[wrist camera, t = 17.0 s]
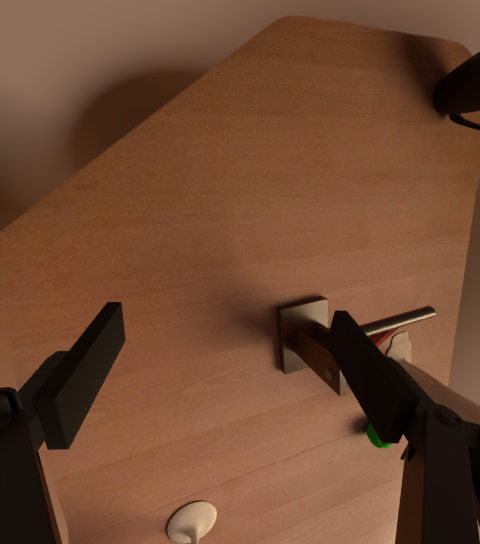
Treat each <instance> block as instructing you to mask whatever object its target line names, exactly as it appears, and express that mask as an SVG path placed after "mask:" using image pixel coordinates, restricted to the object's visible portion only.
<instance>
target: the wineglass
mask: <svg viewBox="0 0 480 544" xmlns="http://www.w3.org/2000/svg"><path fill="white" fill-rule="evenodd" d="M216 515H217V513H216V509H215V507H214V506H213V505H212V504H210V503H208V502H204V501H200V502H194V503H191V504H188V505H186V506H185V507H183V508H181V509H180V510H179V511H178V512H177V513H176V514H175V515H174V516H173V517H172V519H171V520H170V522H169V525H168V529H167V532H168V536H169V538H170V539H171V540H172V541H174V542H176V543H180V544H186V543H192V544H199V539H200V538H201V537H203V536H204V535H205V534H206V533H207V532H208V531H209V530H210V529H211V528H212V526H213V525H214V523H215V520H216Z"/></svg>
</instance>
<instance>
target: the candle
mask: <svg viewBox="0 0 480 544" xmlns="http://www.w3.org/2000/svg"><path fill="white" fill-rule="evenodd" d="M386 357H391V358H393V359H394V360H396V361H397V362H398V363H400V364H401V365H402V366H403V368H404V369H405V370H406V371H407V373H409V374H410V375H411V377H412V378H413V380H415V381H416V382H417V383H418V384H419V386H420V387H421V388H422V389H423V390H424V391H425V392H426V393H427V395H428V396H429V397H430V398H431V399H432V400H433V401H434V402H435V403H437V404H441V405H444V406H446V407H448V408H449V409H451V410H453V411H454V412H455V413H457V414H458V415H459V416H460V417H461V418H462V420H464V421H468V422H472V423H476V424H479V425H480V405H478V404H476V403H474V402H472V401H470V400H469V399H467V398H465V397H463V396H461V395H460V394H457V393H456V392H454V391H452V390H451V389H450V388H448V387H447V386H445V385H443V384H442V383H441V382H439V381H438V380H436V379H435V378H433V377H432V376H430V375H429V374H427V373H426V372H424V371H423V370H421V369H419V368H418V367H416V366H414V365H412V364H411V343H410V341H409V340H408V333H407V331H405V332H404V333H399V334H397V335H396V336H394V338H393V339H392V344H391V347H390V349H389V351H388V353H387V355H386Z"/></svg>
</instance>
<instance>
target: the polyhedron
mask: <svg viewBox="0 0 480 544" xmlns="http://www.w3.org/2000/svg"><path fill="white" fill-rule="evenodd" d="M366 430H367V436H368V438H369V439H370V441H371V443H372V444H373V445H375V446H376V447H378V448H388V447H390V446H391V444H392V443H390V444H382V442H381V440H380V439H379V437H378V435H377V434H376V432H375V430H374V428H373V427H372V425H371V423H370V424H369V425H368V426H367V428H366Z"/></svg>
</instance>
